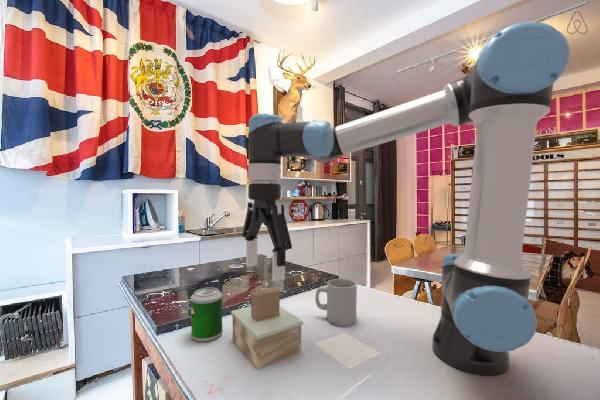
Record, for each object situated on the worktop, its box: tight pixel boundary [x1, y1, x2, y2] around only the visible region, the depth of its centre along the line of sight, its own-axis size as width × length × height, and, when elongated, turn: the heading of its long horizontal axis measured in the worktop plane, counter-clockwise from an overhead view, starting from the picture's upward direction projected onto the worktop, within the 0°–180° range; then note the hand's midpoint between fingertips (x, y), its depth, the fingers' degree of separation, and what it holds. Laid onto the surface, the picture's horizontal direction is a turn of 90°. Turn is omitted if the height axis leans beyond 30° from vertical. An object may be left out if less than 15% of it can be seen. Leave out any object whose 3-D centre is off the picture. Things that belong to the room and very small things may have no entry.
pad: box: [314, 332, 381, 370], centre depth 68 cm, size 12×10×1 cm
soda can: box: [190, 287, 223, 343], centre depth 74 cm, size 8×8×12 cm
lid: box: [230, 286, 304, 339], centre depth 69 cm, size 15×12×8 cm
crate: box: [232, 316, 302, 369], centre depth 70 cm, size 14×11×7 cm
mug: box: [315, 278, 358, 328], centre depth 85 cm, size 12×8×11 cm
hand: (264, 272), depth 69 cm, fingers open, 13 cm apart
